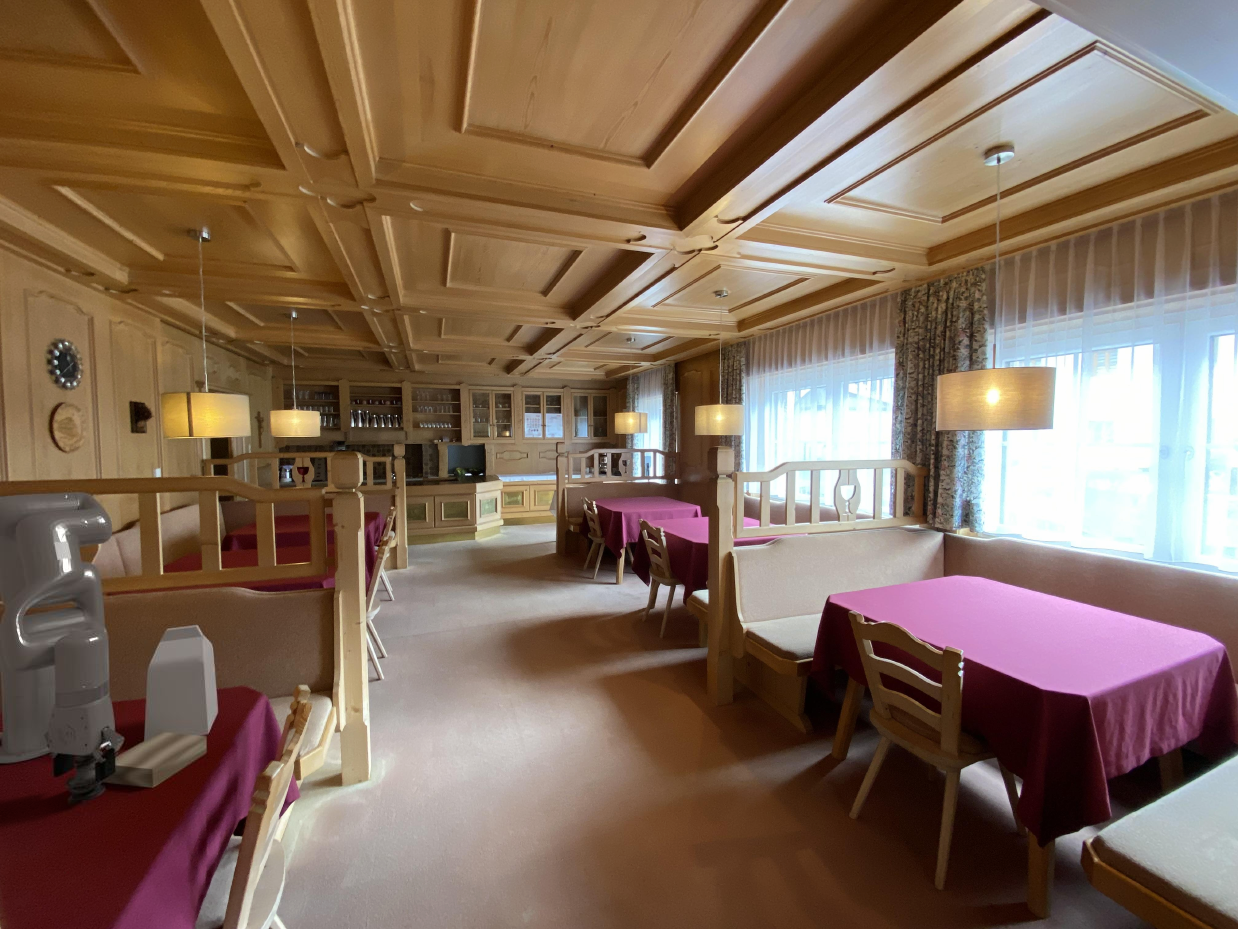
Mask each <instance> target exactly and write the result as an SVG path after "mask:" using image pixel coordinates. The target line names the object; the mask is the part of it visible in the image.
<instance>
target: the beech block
mask: <svg viewBox="0 0 1238 929" xmlns="http://www.w3.org/2000/svg"><path fill="white" fill-rule="evenodd" d="M207 749H208V748H207V735H200V736H198V735H188V734H178V733H168V732H160V733H158V734H156V735H155V736H153V737H151V738H149V739H147V740H145V741H144V740H143V742H140V743H138V744H136V745H135V746H133V747H130V749H128V750H125V751H124V752H122V753H120V754H117V756H115V768H116V771H115V773H114V774H112V775H111V776H109V777H107V778H105V779H104V780H103V782H102V783H107V784H117V785H124V786H125V785H127V786H132V787H134V786H135V787H142V788H143V787H144V788H151V789H152V788H154V787H156V786H158V785H159V784H161V783H162V782H163V783H164V781H166V780H167V779H169V778H171V777H172V776H174V775H175V774H176V773H178V772H179V771H181V770H183V769H185V767H187V766H188V765H190V764H192V763H193V762H194V761H196V760H198V759H200V758H201V757H202V756H204V755H206V754H207V752H208V750H207Z"/></svg>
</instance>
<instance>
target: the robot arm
mask: <svg viewBox="0 0 1238 929" xmlns="http://www.w3.org/2000/svg"><path fill="white" fill-rule="evenodd" d="M112 534H113V525H112V521H111V517H110V515H109V514H108V512H107V510H106V509H105V508H104V507H103V505H101V503H99V502H98V500H97V499H96V498H95V497H94V496H93V495H91V494H90V493H87V492H80V491H79V492H78V491H77V492H76V491H75V492H74V491H73V492H71V491H69V492H56V493H55V492H54V493H30V494H17V495H16V494H14V495H6V496H0V597H1V602H2V604H3V606H4V608H5V610H4V612H3V614H2V616H1V620H0V683H1V684H0V685H1V689H0V690H1V706H2V708H1V709H2V711H1V713H2V715H1V716H2V731H0V740H1V745H0V764H13V763H18V762H24V761H28V760H31V759H36V758H38V757H42V756H45V755H47V754H49V755H50V757H51V758H52V763H53V764H52V765H53V767H52V768H53V769H52V770H53V777H54V778H59V777H60V776H62V775H64V774H66V773H68V772H71V771H72V770H73V769H76V765H74V761H76V755H80V756H87V755H90V754H92V753H93V755H94V756H95V758H96V759H97V763H95V781H96V782H100V781H102V780H104V779H105V778H107V777H109V776H111V775H112V774H114V773H115V771H116V768H115V757H116V755H117V756H118V755H119V752H120V750H122V745H123V744H124V741H125V737H124V736H122V734H120V733H118V732H116V725H115V716H114V709H113V703H112V700H111V697H110V695H111V694H110V691H111V690H110V654H109V653H110V651H109V643H110V642H109V634H108V630H107V628H106V622H105V620H106V619H105V608H104V597H103V585H102V578H101V573H100V571H99V568H97V566H96V565H95V564H93V563H92V562H89V561H82V556H81V552H80V547H86V546H93V545H94V546H95V545H101V544H104V543H107V542H108V541H109V540H110V539H111V537H112ZM65 603H73V604H74V606H72V607H71V606H70V607H65V608H59V609H55V610H49V611H45V612H38V613H33V614H27V615H25V614H26V612H27V611H28V610H32V609H36V608H37V609H38V608H42V607H43V608H44V607H48V606H49V607H50V606H54V605H55V606H56V605H60V604H65ZM104 748H105V749H106V751H105V752H104V753H103V752H102V751H101V750H102V749H104Z"/></svg>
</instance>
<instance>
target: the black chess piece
mask: <svg viewBox="0 0 1238 929" xmlns="http://www.w3.org/2000/svg"><path fill="white" fill-rule="evenodd" d="M97 762H98V760H97V759H96V758H95V756H94V755H93V753H92V754H90V755H87V756H80V755H75V761H74V765H75V774H74V775H73V776H72V777H70V778H69V779H68V780H67V781H66V782H65V787H66V788H67V790H68V791H69V792H70V793H71V795H70V796H69V797H68V799H67V801H68V803H69V804H79V803H84V802H87V801H89V800H92V799H95V798H96V797H99V796H100V795H102V793H104V791H105V790H106V785H104V784H102V783H104V782H103V780H102V781H100V782H96V781H95V763H97Z"/></svg>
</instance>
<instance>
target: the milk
mask: <svg viewBox="0 0 1238 929" xmlns="http://www.w3.org/2000/svg"><path fill="white" fill-rule="evenodd" d="M213 646H214V645H213V644H212V642H211V641H210V640H209V639H208V638H207V637H206V635H204V634H203V632H202V630H201V629H200V627H199V625H198V624H195V625H185V626H179V627H171V628H170V627H169V628H166V630H165V632H164V633H163V636H162V637H161V639H160V641H159V643H158V645H157V647H156V649H155V652H154V654H153V656H152V658H151V660H150V663H149V664H148V668H147V677H146V678H147V679H146V680H147V682H146V696H145V698H146V700H145V701H146V702H145V719H144V721H145V723H144V740H143V742H144V741H145V740H147V739H149V738H151V737H153V736H155V735H156V734H158V733H160V732H168V733H178V734H188V735H198V736H206V735H209V733H210V731H211V729H212V726H213V724H214V722H215V720H216V718H217V716H218V713H219V707H218V706H219V705H218V694H217V681H216V668H215V655H214V654H215V653H214V647H213Z"/></svg>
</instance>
